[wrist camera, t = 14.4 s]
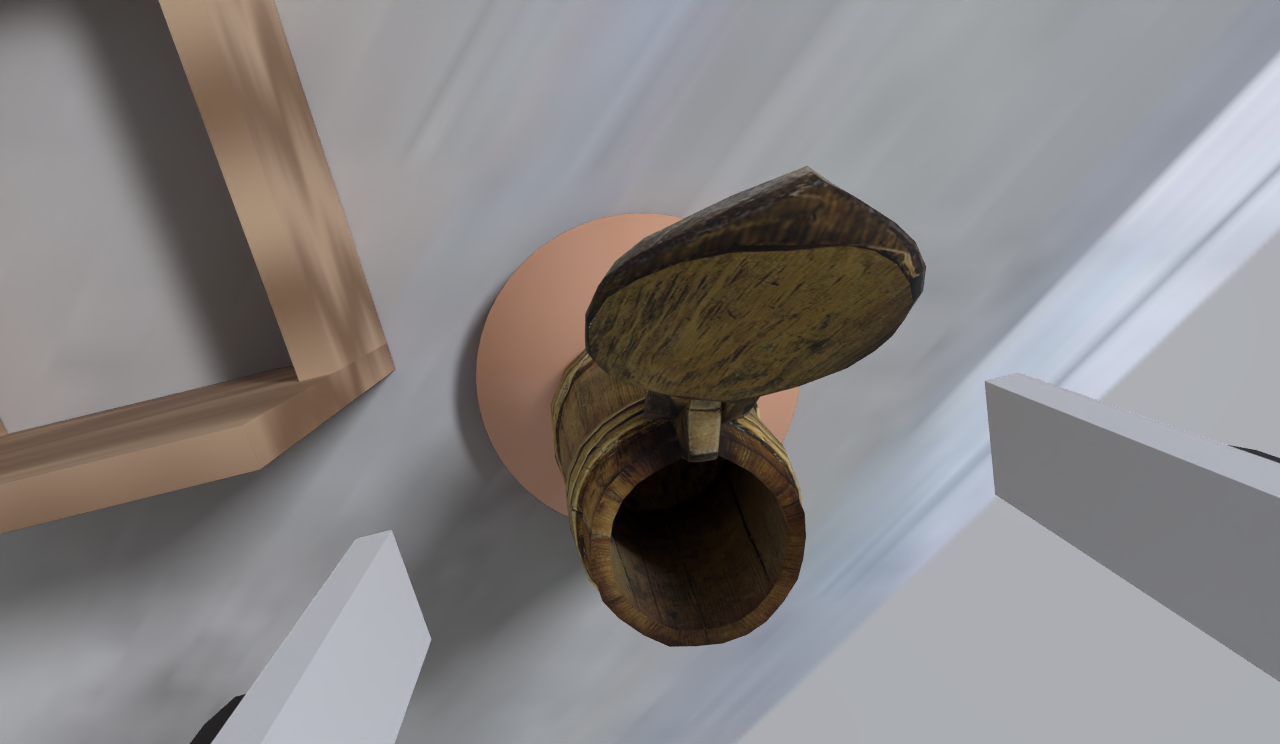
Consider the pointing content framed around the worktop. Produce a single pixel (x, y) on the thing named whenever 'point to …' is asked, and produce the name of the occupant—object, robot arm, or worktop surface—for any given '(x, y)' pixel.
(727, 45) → the worktop surface
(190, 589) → the worktop surface
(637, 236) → the peach round disc
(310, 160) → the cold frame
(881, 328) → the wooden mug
